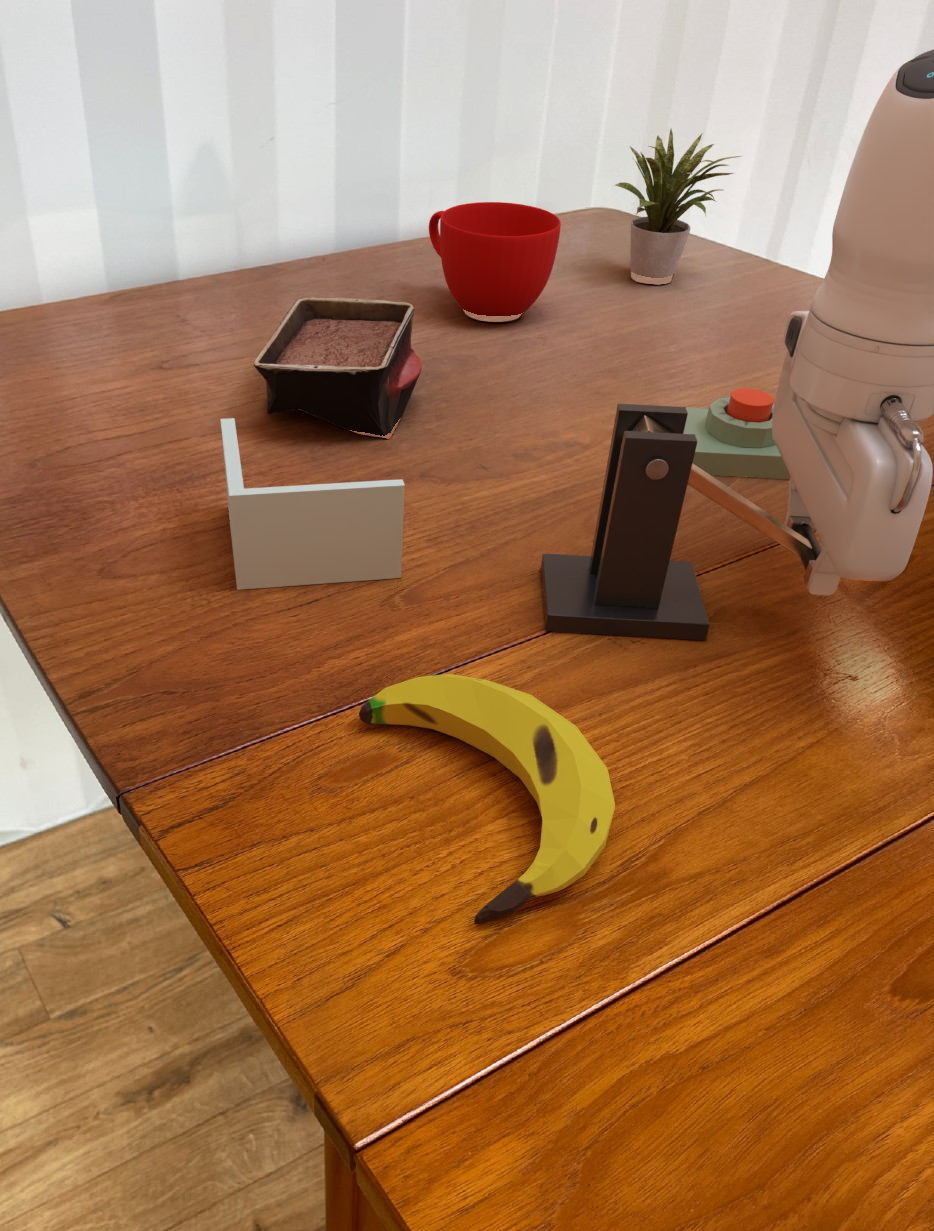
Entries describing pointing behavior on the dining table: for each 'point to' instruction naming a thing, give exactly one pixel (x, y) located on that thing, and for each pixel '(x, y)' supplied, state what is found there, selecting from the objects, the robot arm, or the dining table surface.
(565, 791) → the banana
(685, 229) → the house plant
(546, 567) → the hinged bracket stand
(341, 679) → the dining table surface
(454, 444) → the dining table surface
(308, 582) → the right angle wall
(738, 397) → the power button
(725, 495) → the lever switch
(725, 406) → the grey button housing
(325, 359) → the baking dish
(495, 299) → the ceramic cup
